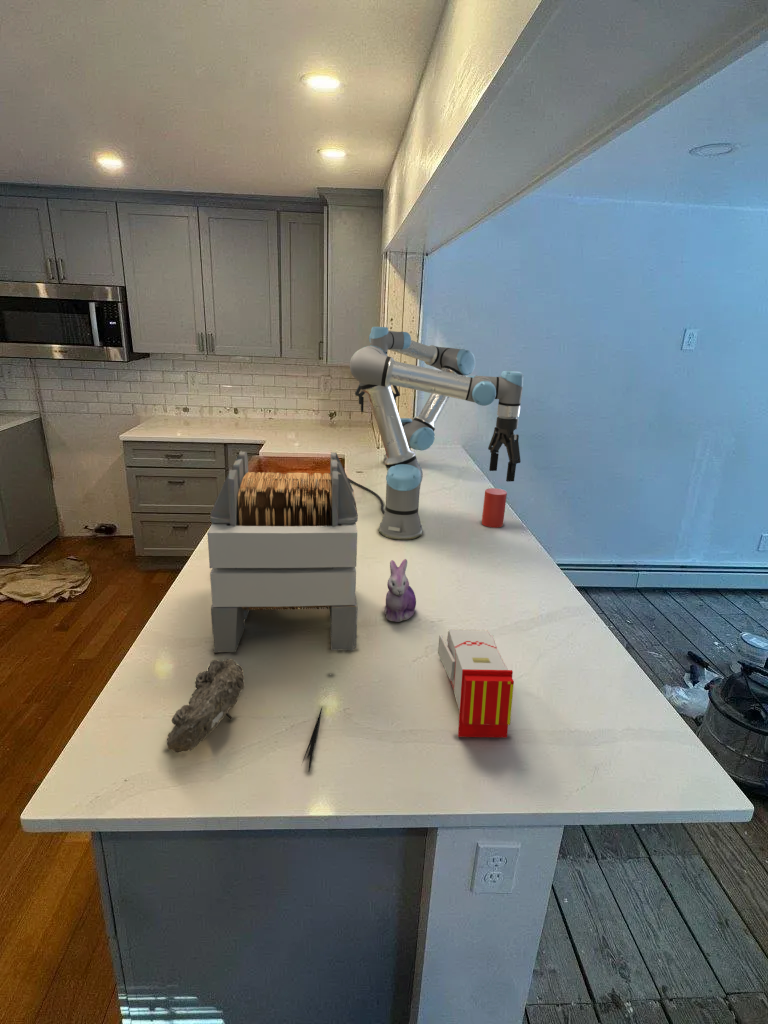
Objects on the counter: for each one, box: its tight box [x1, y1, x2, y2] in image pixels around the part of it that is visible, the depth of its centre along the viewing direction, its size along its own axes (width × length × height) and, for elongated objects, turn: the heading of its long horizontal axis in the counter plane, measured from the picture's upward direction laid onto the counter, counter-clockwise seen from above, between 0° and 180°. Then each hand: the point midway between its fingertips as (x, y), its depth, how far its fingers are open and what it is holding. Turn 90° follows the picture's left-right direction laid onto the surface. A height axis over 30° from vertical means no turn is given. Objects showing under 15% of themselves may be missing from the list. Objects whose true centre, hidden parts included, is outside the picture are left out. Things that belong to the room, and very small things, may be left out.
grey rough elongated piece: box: [166, 658, 245, 754], centre depth 106 cm, size 22×10×15 cm
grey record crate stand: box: [206, 450, 359, 654], centre depth 137 cm, size 34×33×41 cm
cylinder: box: [481, 487, 508, 529], centre depth 211 cm, size 8×8×13 cm
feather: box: [301, 673, 332, 771], centre depth 108 cm, size 2×28×2 cm
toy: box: [437, 628, 515, 738], centre depth 117 cm, size 12×13×30 cm
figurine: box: [384, 558, 417, 623], centre depth 145 cm, size 9×10×15 cm
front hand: (501, 475), depth 204 cm, fingers open, 13 cm apart
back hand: (376, 411), depth 257 cm, fingers open, 13 cm apart
